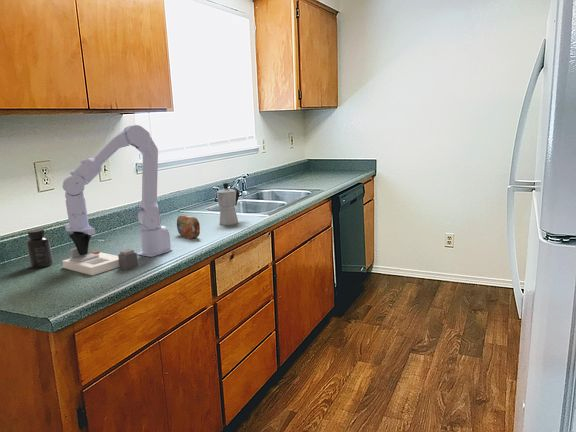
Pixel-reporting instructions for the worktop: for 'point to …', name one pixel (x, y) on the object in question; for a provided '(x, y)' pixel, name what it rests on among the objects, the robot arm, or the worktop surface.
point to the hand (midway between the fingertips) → (83, 254)
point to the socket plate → (93, 264)
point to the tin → (188, 226)
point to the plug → (127, 259)
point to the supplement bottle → (39, 249)
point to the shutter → (80, 258)
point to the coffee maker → (228, 205)
